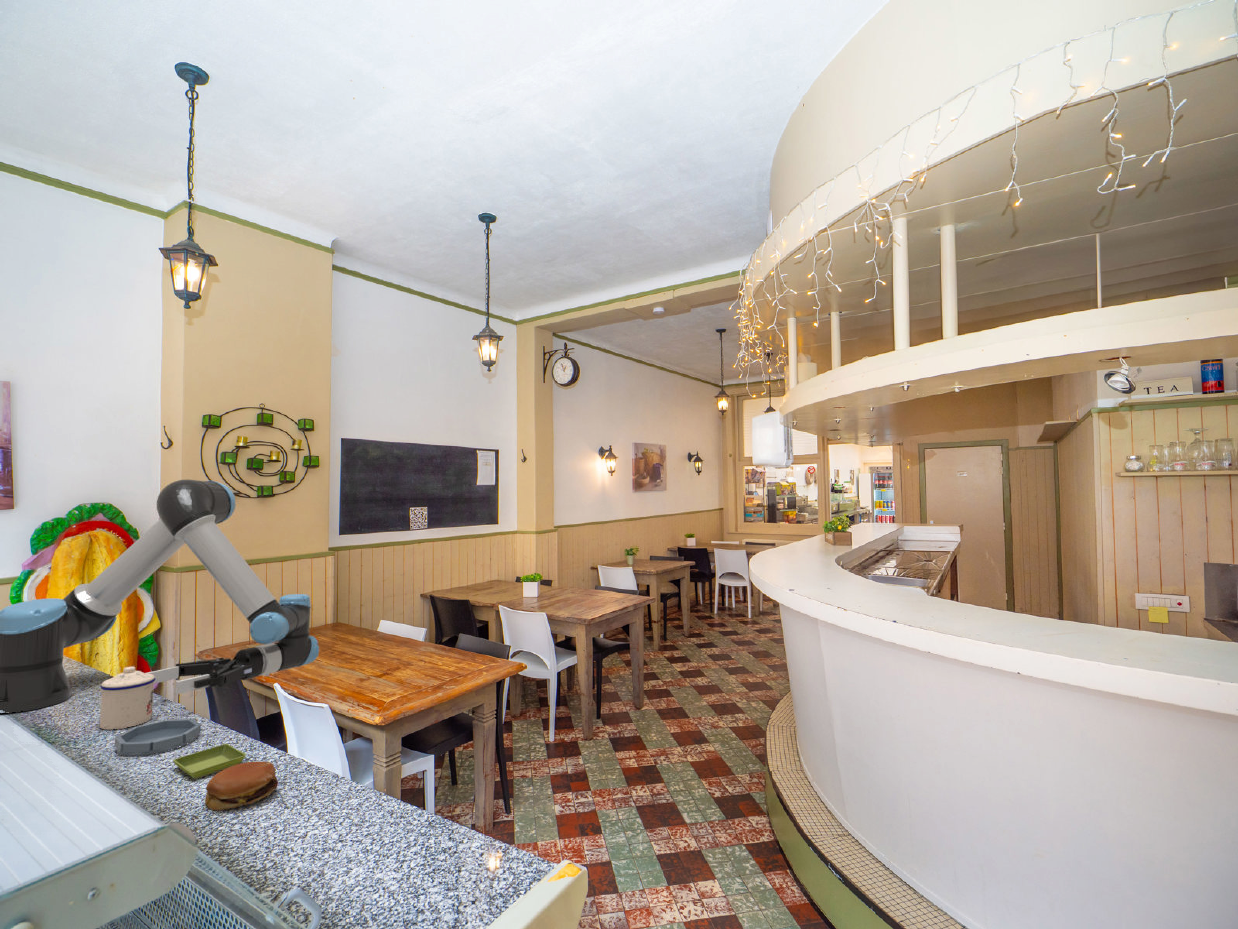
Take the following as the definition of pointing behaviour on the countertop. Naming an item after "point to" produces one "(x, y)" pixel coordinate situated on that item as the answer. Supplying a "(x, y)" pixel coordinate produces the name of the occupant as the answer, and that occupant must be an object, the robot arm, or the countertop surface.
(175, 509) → the robot arm
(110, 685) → the teacup with lid
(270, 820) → the countertop surface
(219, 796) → the burger
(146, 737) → the ashtray
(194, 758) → the green shallow square dish
